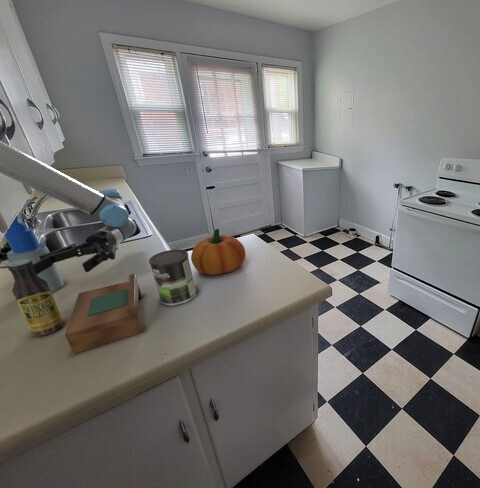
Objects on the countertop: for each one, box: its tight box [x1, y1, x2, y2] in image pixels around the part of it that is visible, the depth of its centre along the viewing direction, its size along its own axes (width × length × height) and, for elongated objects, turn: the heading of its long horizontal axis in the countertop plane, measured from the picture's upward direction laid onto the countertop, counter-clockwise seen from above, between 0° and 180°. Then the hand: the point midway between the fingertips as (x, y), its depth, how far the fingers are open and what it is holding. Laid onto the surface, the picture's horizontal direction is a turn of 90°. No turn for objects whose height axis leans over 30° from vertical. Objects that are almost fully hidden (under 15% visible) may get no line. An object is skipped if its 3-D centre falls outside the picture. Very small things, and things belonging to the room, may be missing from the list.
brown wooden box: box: [64, 273, 144, 355], centre depth 74 cm, size 14×20×8 cm
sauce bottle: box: [6, 259, 64, 337], centre depth 68 cm, size 7×6×20 cm
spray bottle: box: [3, 215, 65, 293], centre depth 85 cm, size 9×9×25 cm
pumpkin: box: [190, 228, 247, 276], centre depth 101 cm, size 19×19×15 cm
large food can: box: [148, 249, 197, 307], centre depth 83 cm, size 10×10×14 cm
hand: (58, 269), depth 76 cm, fingers open, 13 cm apart
